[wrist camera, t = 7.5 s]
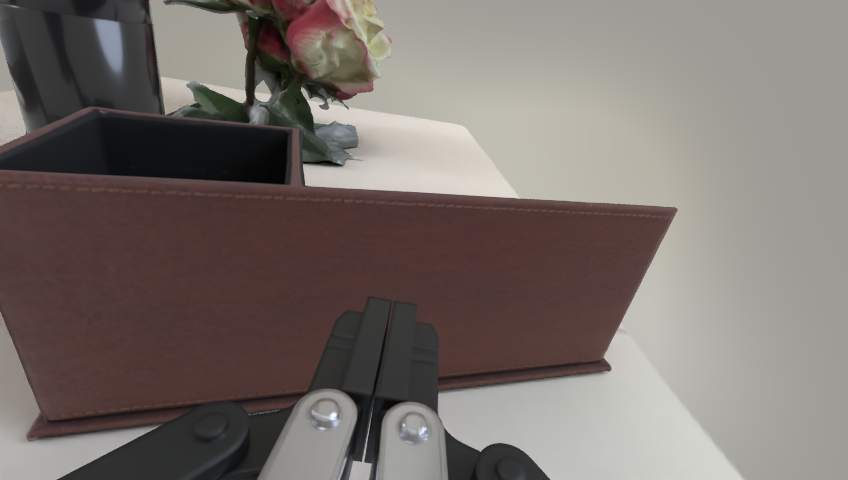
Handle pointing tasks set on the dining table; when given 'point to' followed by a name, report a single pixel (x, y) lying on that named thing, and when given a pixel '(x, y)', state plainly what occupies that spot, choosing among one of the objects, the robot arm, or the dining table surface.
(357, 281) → the desk organizer
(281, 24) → the rose bouquet
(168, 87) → the dining table surface
